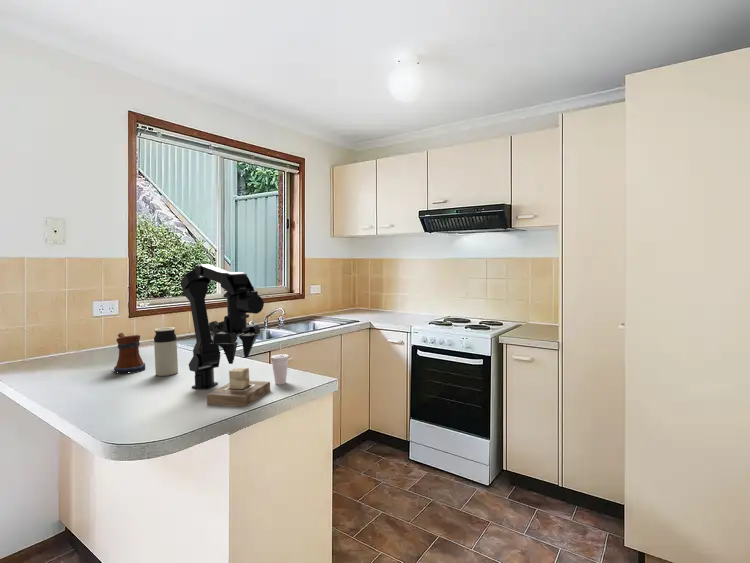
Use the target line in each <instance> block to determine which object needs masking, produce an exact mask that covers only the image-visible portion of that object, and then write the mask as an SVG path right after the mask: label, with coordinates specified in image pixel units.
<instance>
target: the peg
mask: <svg viewBox="0 0 750 563" xmlns="http://www.w3.org/2000/svg"><path fill="white" fill-rule="evenodd" d="M228 373H229V374H228V376H229V383H230V390H245V389H247V388H248V387H249V386H250V385H249V381H250V368H249V367H235V368H233V369H231V370H228Z"/></svg>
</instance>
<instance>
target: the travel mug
mask: <svg viewBox="0 0 750 563" xmlns="http://www.w3.org/2000/svg"><path fill="white" fill-rule="evenodd" d="M175 330H176V327H174V326H168V327H167V326H166V327H158V328H157V327H156V328H155V329H154V333H155V334H154V337H153V344H154V345H153V347H154V366H155V367H154V368H155V375H156V376H158V377H168V376H172V375H176V374H177V373H179V368H178V367H179V365H178V364H179V363H178V362H179V361H178V341H177V340H178V339H177V335H176V333H175Z"/></svg>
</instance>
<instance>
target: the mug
mask: <svg viewBox="0 0 750 563" xmlns="http://www.w3.org/2000/svg"><path fill="white" fill-rule="evenodd" d="M140 340H141V335H139V334H134V335H126V336H125V334H124V333H123V332H120V333H118V335H117V338H116V343H117V348H118V358H117V361H116V365H115V366H114V367H113V371H114V373H116V372H118V373H128V372H135V373H138V372H137V371H139V372H142V371H144V370H146V363H145V362H144V361H143V359H142V357H141V354H140V351H139V348H140V345H141V343H140ZM141 370H142V371H141ZM118 373H117V374H118ZM128 374H129V373H128Z"/></svg>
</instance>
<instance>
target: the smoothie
mask: <svg viewBox="0 0 750 563" xmlns="http://www.w3.org/2000/svg"><path fill="white" fill-rule="evenodd" d="M289 359H290V356H289V354H285V353H284V354H282V343H279V354H273V355H271V356H270V361H271V364H272V371H273V376H274V383H275V385H285V384H286V383H287V374H288V364H289Z"/></svg>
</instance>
